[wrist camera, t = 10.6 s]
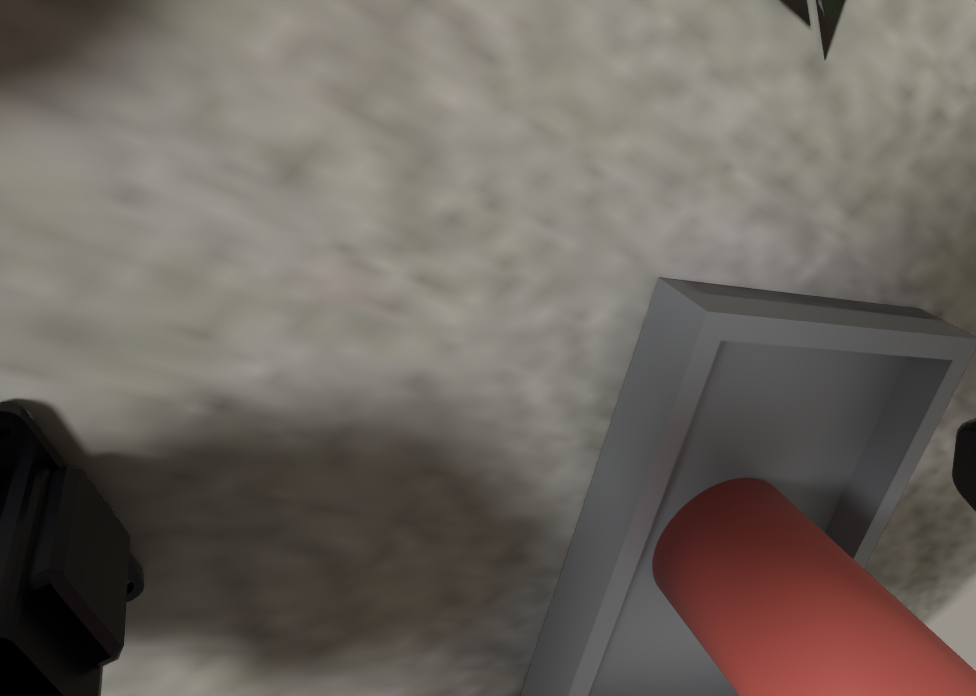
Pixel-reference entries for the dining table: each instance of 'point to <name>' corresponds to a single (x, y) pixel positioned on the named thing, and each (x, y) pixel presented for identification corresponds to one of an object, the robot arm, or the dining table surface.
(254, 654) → the dining table surface
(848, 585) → the pepper mill
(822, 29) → the knife
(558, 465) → the dining table surface
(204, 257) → the dining table surface
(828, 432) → the tray
